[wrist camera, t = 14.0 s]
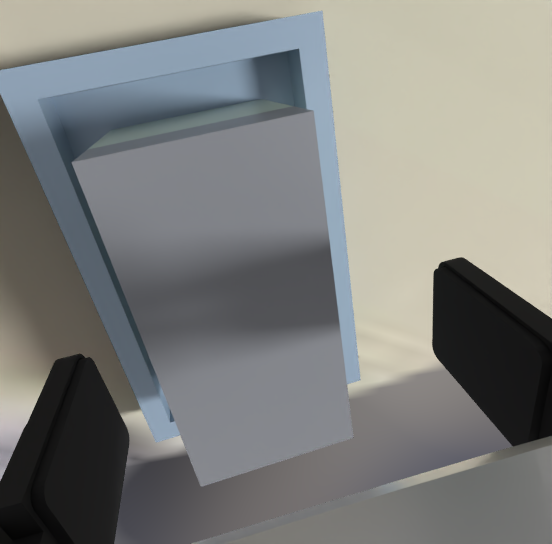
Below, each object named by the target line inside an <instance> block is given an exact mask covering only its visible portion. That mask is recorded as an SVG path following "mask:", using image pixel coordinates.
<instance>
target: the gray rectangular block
mask: <svg viewBox="0 0 552 544" xmlns="http://www.w3.org/2000/svg"><path fill="white" fill-rule="evenodd" d="M71 163H72V165H73V168H74V170H75V173H76V175H77V178H78V180H79V183H80V185H81V188H82V190H83V193H84V195H85V198H86V200H87V203H88V205H89V208H90V210H91V213H92V215H93V218H94V220H95V223H96V225H97V228H98V230H99V233H100V235H101V238H102V240H103V243H104V245H105V248H106V250H107V253H108V255H109V258H110V260H111V263H112V265H113V268H114V270H115V273H116V275H117V278H118V280H119V283H120V285H121V288H122V290H123V293H124V295H125V298H126V300H127V303H128V305H129V308H130V310H131V313H132V315H133V318H134V320H135V323H136V325H137V328H138V330H139V333H140V335H141V338H142V340H143V343H144V345H145V348H146V350H147V353H148V355H149V358H150V360H151V363H152V365H153V368H154V370H155V373H156V375H157V378H158V380H159V383H160V385H161V388H162V390H163V393H164V395H165V398H166V400H167V403H168V405H169V408H170V410H171V413H172V415H173V418H174V420H175V423H176V425H177V428H178V430H179V433H180V435H181V438H182V440H183V443H184V445H185V448H186V450H187V453H188V455H189V458H190V460H191V463H192V465H193V468H194V470H195V473H196V475H197V478H198V480H199V483H200V485H201V487H202V486H205V485H208V484H211V483H214V482H218V481H221V480H224V479H227V478H230V477H233V476H236V475H239V474H242V473H246V472H249V471H251V470H255V469H257V468H261V467H264V466H267V465H270V464H274V463H277V462H280V461H283V460H286V459H289V458H292V457H295V456H298V455H301V454H305V453H308V452H311V451H314V450H317V449H320V448H323V447H326V446H329V445H333V444H335V443H339V442H342V441H345V440H348V439H351V438H354V437H353V429H352V421H351V413H350V405H349V396H348V388H347V380H346V372H345V363H344V355H343V347H342V339H341V331H340V322H339V314H338V306H337V298H336V289H335V281H334V273H333V265H332V257H331V248H330V240H329V232H328V224H327V215H326V207H325V199H324V191H323V182H322V174H321V166H320V158H319V150H318V141H317V133H316V125H315V117H314V111H313V110H308V109H304V108H299V107H295V106H290V105H286V104H281V103H277V102H272V101H268V100H264V99H259V100H254V101H249V102H244V103H239V104H234V105H229V106H225V107H220V108H215V109H210V110H205V111H200V112H196V113H191V114H186V115H181V116H176V117H171V118H166V119H162V120H157V121H152V122H147V123H142V124H137V125H132V126H128V127H123V128H118V129H113V130H110V131H109V132H108V133H107V134H106V135H104V136H103V137H102V138H101V139H99V140H98V141H97V142H96V143H95V144H93V145H92V146H91V147H90V148H89V149H87V150H86V151H85V152H84V153H82V154H81V155H80V156H79V157H78V158H76V159H75V160H74V161H73V162H71Z"/></svg>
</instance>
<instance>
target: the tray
mask: <svg viewBox="0 0 552 544" xmlns="http://www.w3.org/2000/svg"><path fill="white" fill-rule="evenodd" d="M0 94H1V96H2V99H3V101H4V103H5V105H6V108H7V110H8V112H9V114H10V117H11V119H12V121H13V123H14V126H15V128H16V130H17V132H18V135H19V137H20V139H21V141H22V143H23V146H24V148H25V150H26V152H27V155H28V157H29V159H30V161H31V164H32V166H33V168H34V170H35V173H36V175H37V177H38V179H39V182H40V184H41V186H42V188H43V190H44V193H45V195H46V197H47V199H48V202H49V204H50V206H51V208H52V211H53V213H54V215H55V217H56V220H57V222H58V224H59V226H60V229H61V231H62V233H63V235H64V238H65V240H66V242H67V244H68V246H69V249H70V251H71V253H72V255H73V258H74V260H75V262H76V264H77V267H78V269H79V271H80V273H81V276H82V278H83V280H84V282H85V285H86V287H87V289H88V291H89V293H90V296H91V298H92V300H93V302H94V305H95V307H96V309H97V311H98V314H99V316H100V318H101V320H102V323H103V325H104V327H105V329H106V332H107V334H108V336H109V338H110V340H111V343H112V345H113V347H114V349H115V352H116V354H117V356H118V358H119V361H120V363H121V365H122V367H123V370H124V372H125V374H126V376H127V379H128V381H129V383H130V385H131V387H132V390H133V392H134V394H135V396H136V399H137V401H138V403H139V405H140V408H141V410H142V412H143V414H144V417H145V419H146V421H147V423H148V426H149V428H150V430H151V432H152V434H153V437H154V439H155V441H156V442H159V441H163V440H166V439H169V438H172V437H176V436H179V435H180V433H179V430H178V428H177V425H176V423H175V420H174V418H173V415H172V413H171V410H170V408H169V405H168V403H167V400H166V398H165V395H164V393H163V390H162V388H161V385H160V383H159V380H158V378H157V375H156V373H155V370H154V368H153V365H152V363H151V360H150V358H149V355H148V353H147V350H146V348H145V345H144V343H143V340H142V338H141V335H140V333H139V330H138V328H137V325H136V323H135V320H134V318H133V315H132V313H131V310H130V308H129V305H128V303H127V300H126V298H125V295H124V293H123V290H122V288H121V285H120V283H119V280H118V278H117V275H116V273H115V270H114V268H113V265H112V263H111V260H110V258H109V255H108V253H107V250H106V248H105V245H104V243H103V240H102V238H101V235H100V233H99V230H98V228H97V225H96V223H95V220H94V218H93V215H92V213H91V210H90V208H89V205H88V203H87V200H86V198H85V195H84V193H83V190H82V188H81V185H80V183H79V180H78V178H77V175H76V173H75V170H74V168H73V165H72V163H71V162H73V161H74V160H75V159H76V158H78V157H79V156H80V155H81V154H82V153H84V152H85V151H86V150H87V149H89V148H90V147H91V146H92V145H93V144H95V143H96V142H97V141H98V140H99V139H101V138H102V137H103V136H104V135H106V134H107V133H108V132H109V131H110V130H113V129H118V128H123V127H128V126H132V125H137V124H142V123H147V122H152V121H157V120H162V119H166V118H171V117H176V116H181V115H186V114H191V113H196V112H200V111H205V110H210V109H215V108H220V107H225V106H229V105H234V104H239V103H244V102H249V101H254V100H259V99H264V100H268V101H272V102H277V103H281V104H286V105H290V106H295V107H299V108H304V109H308V110H313V111H314V117H315V125H316V133H317V141H318V150H319V158H320V166H321V174H322V182H323V191H324V199H325V207H326V215H327V224H328V232H329V240H330V248H331V257H332V265H333V273H334V281H335V289H336V298H337V306H338V314H339V322H340V331H341V339H342V347H343V355H344V363H345V372H346V380H347V384H349V383H353V382H356V381H359V380H360V371H359V361H358V352H357V342H356V332H355V323H354V313H353V303H352V294H351V284H350V274H349V265H348V255H347V245H346V236H345V226H344V216H343V207H342V197H341V187H340V178H339V168H338V158H337V149H336V139H335V129H334V119H333V110H332V100H331V90H330V81H329V71H328V61H327V52H326V42H325V32H324V23H323V13H322V11H318V12H313V13H307V14H302V15H297V16H291V17H286V18H280V19H275V20H269V21H264V22H259V23H253V24H248V25H242V26H237V27H231V28H226V29H221V30H215V31H210V32H204V33H199V34H193V35H188V36H183V37H177V38H172V39H166V40H161V41H156V42H150V43H145V44H139V45H134V46H128V47H123V48H118V49H112V50H107V51H101V52H96V53H90V54H85V55H80V56H74V57H69V58H63V59H58V60H52V61H47V62H42V63H36V64H31V65H25V66H20V67H14V68H9V69H4V70H0Z"/></svg>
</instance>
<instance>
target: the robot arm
mask: <svg viewBox="0 0 552 544" xmlns="http://www.w3.org/2000/svg"><path fill="white" fill-rule="evenodd" d="M432 346H433V351H434V353H435V355H436V357H437V358H438V360H439V361H440V362H441V363H442V364H443V365H444V367H445V368H446V369H447V370H448V371H449V372H450V374H451V375H452V376H453V377H454V378H455V379H456V381H457V382H458V383H459V384H460V385H461V386H462V388H463V389H464V390H465V391H466V392H467V393H468V394H469V396H470V397H471V398H472V399H473V400H474V402H475V403H476V404H477V405H478V406H479V407H480V409H481V410H482V411H483V412H484V413H485V414H486V415H487V417H488V418H489V419H490V420H491V421H492V422H493V424H494V425H495V426H496V427H497V428H498V430H499V431H500V432H501V433H502V434H503V435H504V437H505V438H506V439H507V440H508V441H509V442H510V443H511V445H512V446H513V447H510V448H506V449H503V450H500V451H496V452H493V453H490V454H486V455H483V456H479V457H476V458H473V459H469V460H466V461H462V462H459V463H456V464H452V465H449V466H446V467H442V468H439V469H436V470H432V471H429V472H425V473H422V474H419V475H415V476H412V477H409V478H406V479H402V480H399V481H395V482H392V483H389V484H385V485H382V486H379V487H375V488H372V489H369V490H366V491H362V492H359V493H356V494H352V495H349V496H346V497H342V498H339V499H336V500H332V501H330V502H326V503H323V504H319V505H316V506H313V507H309V508H306V509H303V510H300V511H296V512H293V513H290V514H286V515H283V516H280V517H277V518H273V519H270V520H267V521H264V522H260V523H257V524H254V525H251V526H248V527H244V528H241V529H238V530H235V531H231V532H228V533H225V534H222V535H219V536H215V537H212V538H209V539H205V540H202V541H199V542H196V543H192V544H552V319H551V318H550V317H549V316H547V315H546V314H544V313H543V312H541V311H540V310H538V309H537V308H536V307H534V306H533V305H531V304H530V303H528V302H527V301H525V300H524V299H523V298H521V297H520V296H518V295H517V294H515V293H514V292H512V291H511V290H510V289H508V288H507V287H505V286H504V285H502V284H501V283H499V282H498V281H497V280H495V279H494V278H492V277H491V276H489V275H488V274H486V273H485V272H484V271H482V270H481V269H479V268H478V267H476V266H475V265H473V264H472V263H471V262H469V261H468V260H466V259H465V258H462V257H461V258H456V259H452V260H448V261H444V262H441V263H440V264H439V267H438V269H436V270H435V271H434V281H433V339H432ZM128 448H129V433H128V430H127V427H126V425H125V423H124V421H123V419H122V417H121V415H120V413H119V411H118V409H117V407H116V405H115V403H114V401H113V399H112V397H111V395H110V393H109V391H108V389H107V387H106V385H105V383H104V381H103V379H102V377H101V375H100V373H99V371H98V369H97V367H96V365H95V363H94V361H93V360H92V358H90V357H88V358H85V357H84V356H83V355H82V354H77V355H73V356H69V357H65V358H61V359H58V360H56V361H55V363H54V365H53V367H52V369H51V371H50V374H49V376H48V378H47V380H46V383H45V385H44V387H43V389H42V392H41V394H40V396H39V398H38V401H37V403H36V405H35V407H34V410H33V412H32V414H31V416H30V419H29V421H28V423H27V425H26V426H25V428H24V430H23V432H22V434H21V437H20V439H19V441H18V443H17V445H16V448H15V450H14V452H13V454H12V457H11V459H10V461H9V463H8V466H7V468H6V470H5V472H4V475H3V477H2V479H1V481H0V544H114V540H115V534H116V527H117V521H118V514H119V508H120V501H121V494H122V487H123V481H124V475H125V468H126V461H127V455H128Z"/></svg>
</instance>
